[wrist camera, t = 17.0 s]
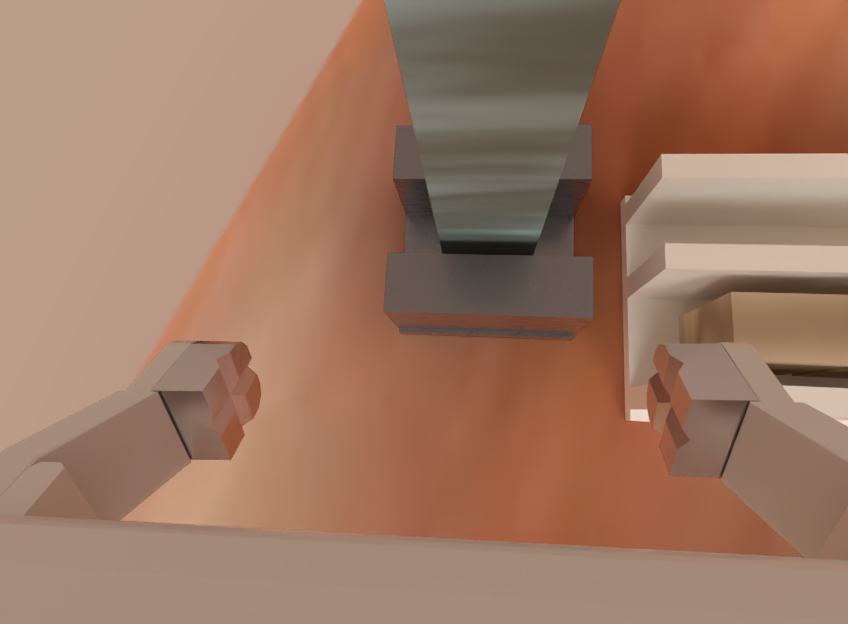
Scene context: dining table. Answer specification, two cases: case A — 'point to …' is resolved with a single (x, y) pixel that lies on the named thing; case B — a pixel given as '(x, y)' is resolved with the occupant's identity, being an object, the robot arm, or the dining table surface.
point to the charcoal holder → (490, 265)
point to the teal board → (496, 108)
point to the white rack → (730, 251)
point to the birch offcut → (776, 328)
